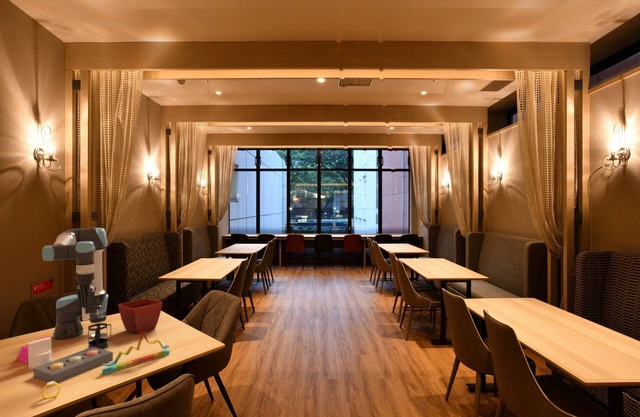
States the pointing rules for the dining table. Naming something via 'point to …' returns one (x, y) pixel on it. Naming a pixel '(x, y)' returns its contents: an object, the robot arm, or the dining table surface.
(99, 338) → the french press
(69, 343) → the dining table surface
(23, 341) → the dining table surface
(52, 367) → the ochre button
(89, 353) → the terracotta button
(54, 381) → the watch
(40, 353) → the translucent white block
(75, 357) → the sage button
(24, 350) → the bracket
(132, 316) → the plant pot
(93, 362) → the button panel
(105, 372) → the chart
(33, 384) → the dining table surface
